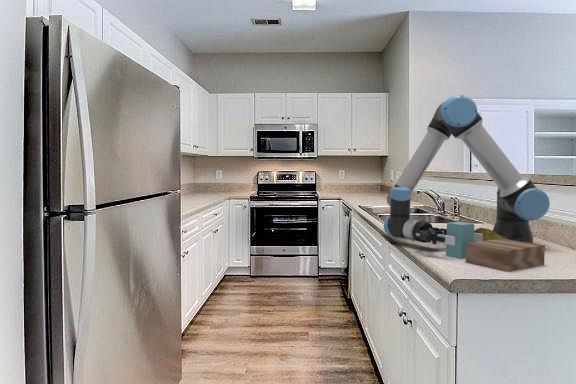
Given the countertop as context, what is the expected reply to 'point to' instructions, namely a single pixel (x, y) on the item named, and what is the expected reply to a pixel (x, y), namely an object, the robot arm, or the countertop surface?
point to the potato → (488, 234)
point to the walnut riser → (505, 254)
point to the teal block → (459, 238)
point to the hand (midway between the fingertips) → (468, 239)
